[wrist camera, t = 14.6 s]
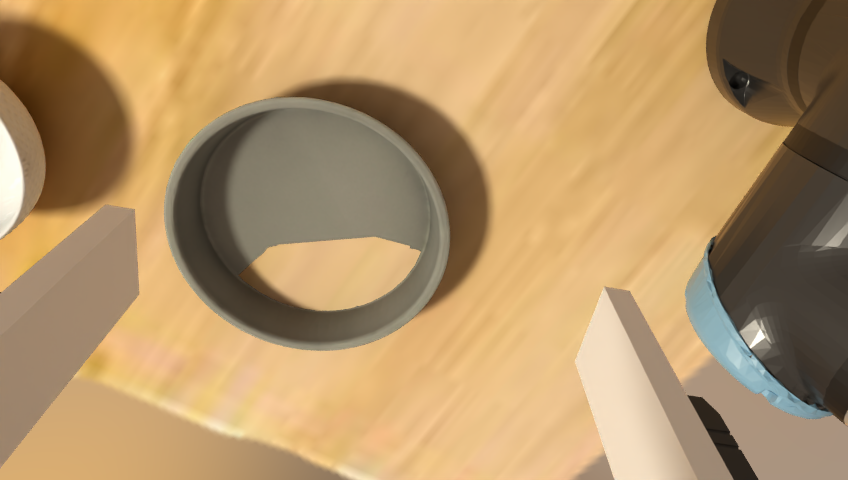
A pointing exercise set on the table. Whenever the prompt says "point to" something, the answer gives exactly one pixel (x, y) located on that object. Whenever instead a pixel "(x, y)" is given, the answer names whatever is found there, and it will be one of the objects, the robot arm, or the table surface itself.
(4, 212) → the cereal bowl
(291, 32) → the table surface
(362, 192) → the cake pan
